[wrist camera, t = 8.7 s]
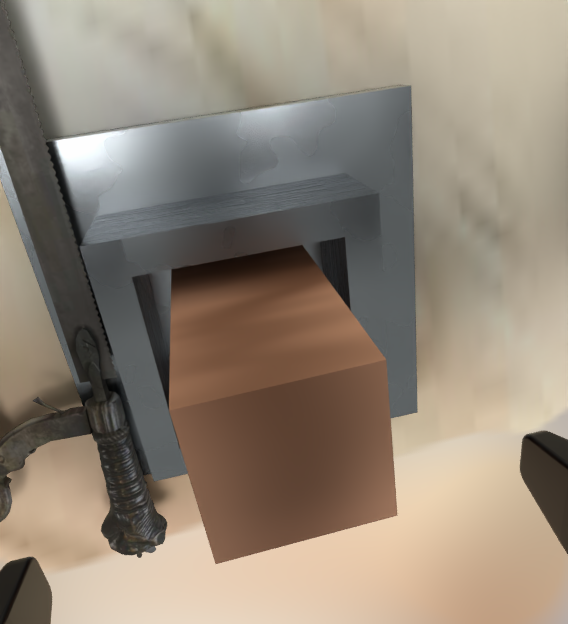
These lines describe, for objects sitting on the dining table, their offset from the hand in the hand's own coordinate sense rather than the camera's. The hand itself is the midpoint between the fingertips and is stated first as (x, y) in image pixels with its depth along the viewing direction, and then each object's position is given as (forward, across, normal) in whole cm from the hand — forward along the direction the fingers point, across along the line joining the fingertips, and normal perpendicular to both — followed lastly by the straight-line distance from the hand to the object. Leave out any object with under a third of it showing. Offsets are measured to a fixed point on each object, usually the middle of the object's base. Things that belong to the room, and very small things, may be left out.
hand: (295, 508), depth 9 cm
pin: (+9, 0, 0) cm, 9 cm away
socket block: (+10, 0, 0) cm, 10 cm away
